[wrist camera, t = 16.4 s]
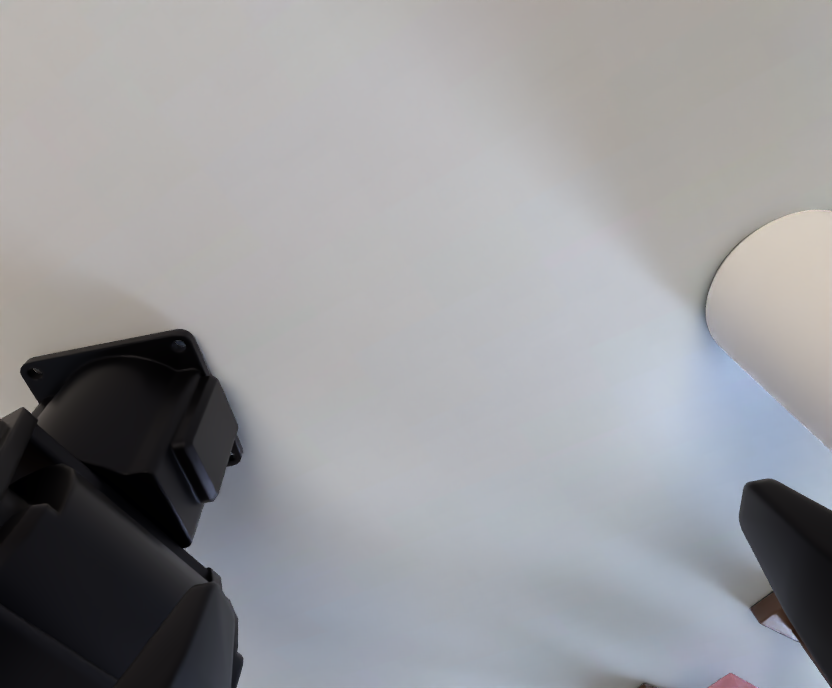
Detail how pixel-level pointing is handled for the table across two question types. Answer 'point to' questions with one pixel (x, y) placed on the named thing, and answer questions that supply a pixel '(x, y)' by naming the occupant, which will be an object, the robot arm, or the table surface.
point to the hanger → (731, 682)
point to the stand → (773, 624)
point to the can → (781, 314)
